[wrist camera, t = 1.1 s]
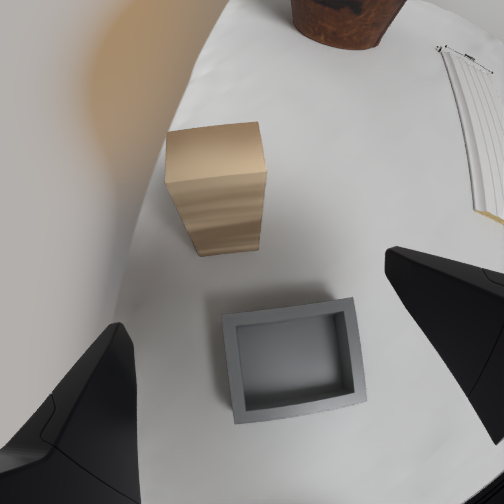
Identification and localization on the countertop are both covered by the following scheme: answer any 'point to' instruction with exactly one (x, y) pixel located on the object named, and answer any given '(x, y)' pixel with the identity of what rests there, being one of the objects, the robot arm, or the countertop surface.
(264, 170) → the slat
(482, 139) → the baseboard
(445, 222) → the countertop surface
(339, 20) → the brown tapered cylinder
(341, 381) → the end cap
